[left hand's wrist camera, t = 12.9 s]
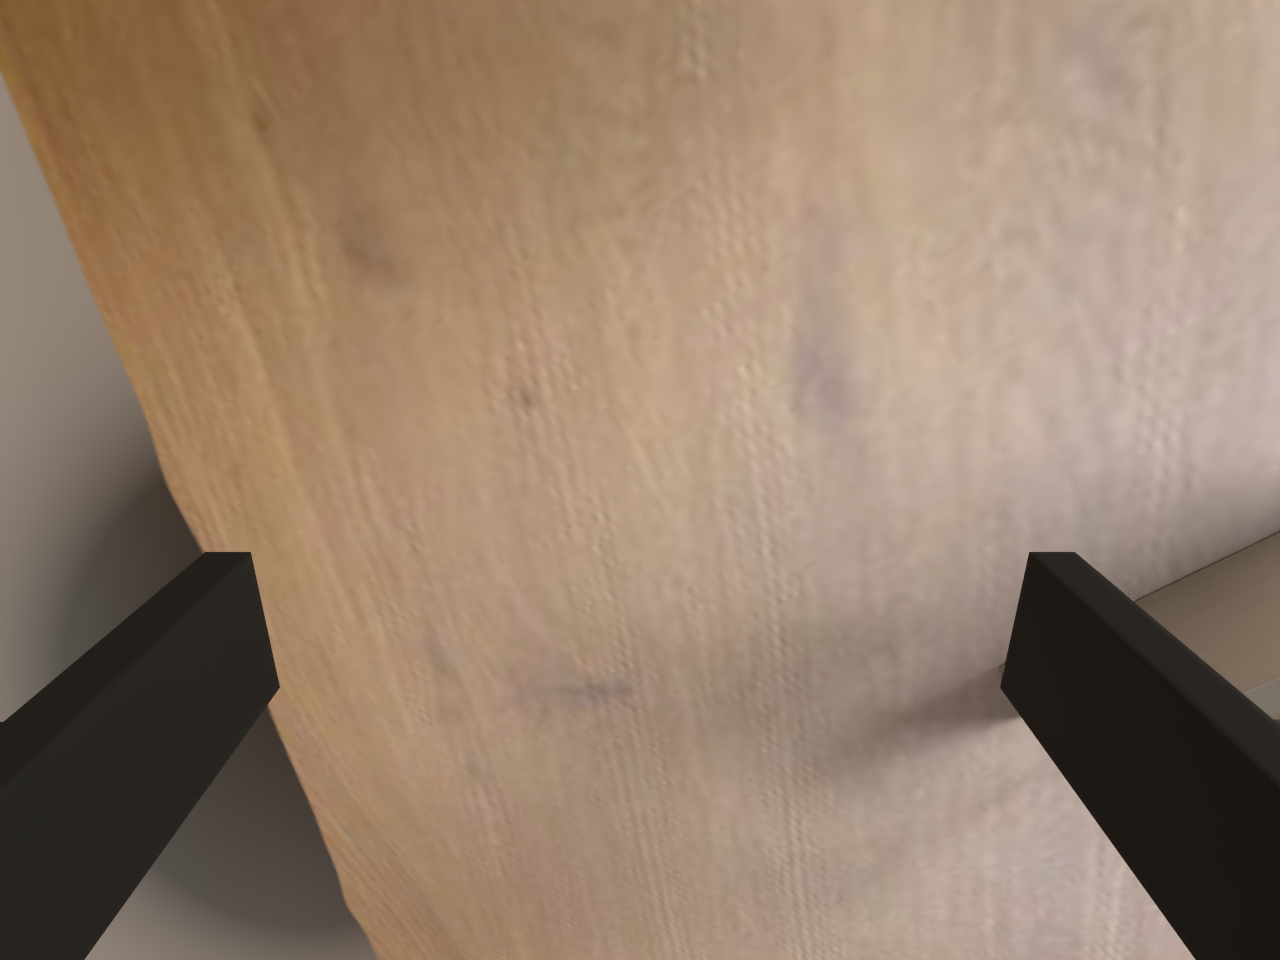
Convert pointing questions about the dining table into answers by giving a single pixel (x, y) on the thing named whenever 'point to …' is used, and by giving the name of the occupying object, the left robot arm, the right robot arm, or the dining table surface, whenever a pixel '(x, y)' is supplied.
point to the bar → (1230, 619)
